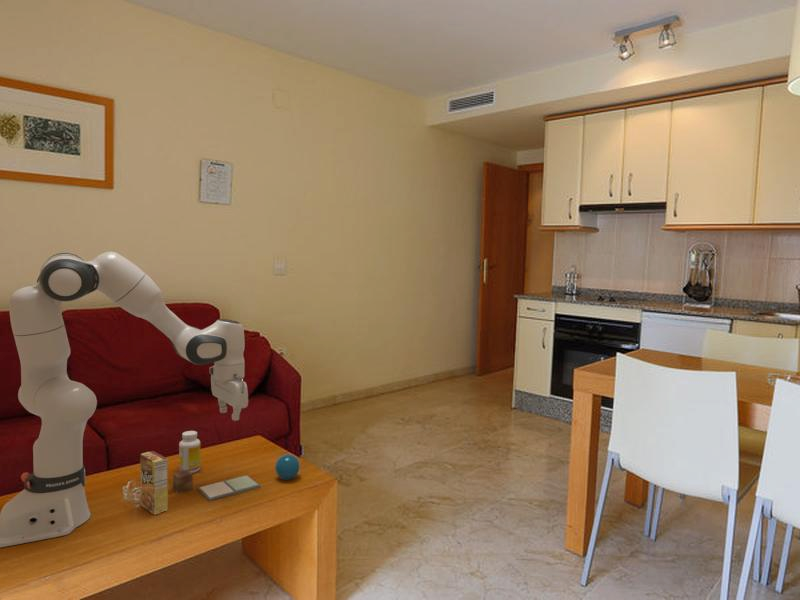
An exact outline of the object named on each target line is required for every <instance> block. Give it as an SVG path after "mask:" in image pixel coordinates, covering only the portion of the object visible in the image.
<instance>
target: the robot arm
mask: <svg viewBox="0 0 800 600" xmlns="http://www.w3.org/2000/svg"><path fill="white" fill-rule="evenodd" d="M95 291H99V292H100V293H102V294H103V295H105V296H106V297H107V298H109V299H110V300H111V301H112V302H113V303H114V304H116V305H117V306H118V307H119V308H121V309H123V310H124V311H125V312H128V313H129V314H131V315H133V316H134V317H136V318H141V319H143V320H145V321H147V322H149V323H151V325H153V326H154V327H155V328H156V329H157V330H159V331H160V332H161V333H162V334H164V335H165V337H166V338H167V339H169V340H170V342H171V345H172V347H173V349H174V351H175V353H176V354H177V355H178V356H179V357H180V358H182V359H184V360H187V361H188V362H190V363H192V364H194V365H197V366H204V365H205V366H206V365H209V364H214V365H212V366H210V367H209V374H210V375H211V376H210V385H211V386H210V387H211V388H210V389H211V393H212V394H211V395H212V396H214V397H215V398H217V402H218V406H219V412H220V413H222V414H225V413H228V406H227V405H229V406H230V407H232V413H231V419H232V421H234V422H235V421H239V420H240V413H241V411H242V409H246V408H247V407H248V405H249V393H248V392H249V391H248V385H247V382H246V381H244V378H245V366H246V365H245V363H246V362H245V358H244V357H245V356H244V353H245V352H244V351H245V347H246V346H245V344H246V343H245V342H246V341H245V331H244V325H243V324H242V323H241V322H240V321H236V320H233V319H227V318H218V319H217V320H216V321H215V322H214V323H213V324H211V325H209V326H207V327H205V328H203V329H200V328H198V327H196V326H192V325H188V324H187V323H185V322H184V321H183V320H181V318H179V317H178V316H177V315H176V314H175V313H174V312H173V311H172V310H170V309H169V308H168V307H167V305H166V304H165V302H164V299H163V292H162V290H161V289H160V287H159V286H158V285H157V283H156V282H155V281H154V280H153V279H152V278H151V277H150V276H149V274H147V273H146V272H144V270H142V269H141V268H140V267H139V266H138V265H136V264H135V263H133V262H132V261H130V260H129V259H128V258H126V257H124V256H122V255H121V254H119V253H118V252H114V251H105V252H103V253H101V254H99V255H97V256H95V257H94V258H93V259H91V260H89V261H85V260H84V259H82V258H81V257H80V256H78V255H77V254H74V253H69V252H58V253H55V254H54V255H52V256H50V257H49V258H47V260H46V261H45V262H44V263H43V264H42V265H41V267H40V271H39V276H38V278H37V279H36V283H34V284H32V285H27V286H24V287H20V288H19V289H17V290H15V291H14V292H13V293H11V295H10V296H9V301H8V303H9V304H8V305H9V306H8V307H9V319H10V326H11V330H12V334H13V338H14V342H15V345H16V350H17V353H18V359H19V362H20V378H21V380H20V382H21V383H20V384H21V385H20V387H19V389H18V393H17V398H18V401H19V403H20V404H21V406H22V407H23V408H24V409H25V410H26V411H28V413H30V414H33V415H35V416H37V417H40V419H41V427H40V432H39V434H38V435H39V436H38V438H37V439H35V441H34V443H33V446H32V452H33V453H32V454H33V455H32V457H33V458H32V459H33V463H32V464H33V472H32V473H29V472H23V473H22V474H21V475H20V478H21V481H22V482H23V483H24V485H23V486H24V489H22V490H21V491H20V492H19V493H18V494H16V495H15V496H14V497H12V498H11V499H10V500H9V501H8V502H6V503H5V504H4V506H3V507H2V509H1V510H0V548H5V547H10V546H15V545H20V544H21V545H22V544H26V543H30V542H31V543H32V542H36V541H42V540H48V539H52V538H56V537H58V538H59V537H62V536H67V535H69V534H71V533H72V532H73V531H74V530H75V529H76V528H77V527H80V526H82V524H85V523H86V522H88V521H89V519H90V518H91V515H92V514H91V511H90V509H89V505H88V502H87V497H86V492H85V486H86V469H85V468H86V467H85V466H84V464H83V463H84V462H83V460H84V459H83V454H84V453H83V440H84V432H85V431H86V430H85V429H86V426H87V422H88V420H89V419H90V418H91V417H92V416H93V415H94V413H95V411H96V409H97V405H98V400H97V396H96V394H95V392H94V391H93V390H92V389H90V388H89V387H88V386H86V385H85V384H84V383H82V382H78V381H75V380H71V379H70V378H69V375H68V371H67V369H68V368H67V367H68V359H69V357H70V356H71V353H72V352H71V350H72V349H71V347H70V342H69V339H68V335H67V330H66V325H65V322H64V318H63V315H62V313H63V312H62V304H63V302H72V301H75V300H78V299H81V298H83V297H84V296H87V295H89V294H91V293H93V292H95Z"/></svg>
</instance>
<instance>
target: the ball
mask: <svg viewBox="0 0 800 600" xmlns="http://www.w3.org/2000/svg"><path fill="white" fill-rule="evenodd" d="M300 469H301V463H300V460H299V459H298V457H297V456H295V455H294V454H290V453H287V454H285V453H284V454H283V455H281V456H280V457H279V458H278V459H277V460H276V462H275V467H274V471H275V473H276V475H277V476H278V478H280V479H282V480H284V481H285V480H286V481H287V480H292V479H294V478H295V477H297V475H298V474H299V473H300Z"/></svg>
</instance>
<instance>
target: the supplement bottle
mask: <svg viewBox="0 0 800 600" xmlns="http://www.w3.org/2000/svg"><path fill="white" fill-rule="evenodd" d="M181 437H182V440H181V441H179V443H178V452H179V453H178V458H179V459H178V461H179V462H178V464H179V471H183V470H187V469H188V470H189V471H190V472H191V473H192V474H194V473H197V472H198V471H200V470H201V467H202V466H201V464H202V463H201V462H202V461H201V458H202V456H201V440H200V439H198V438H197V437H198V431H196V430H187V431H184V432H182V434H181Z"/></svg>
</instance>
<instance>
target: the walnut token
mask: <svg viewBox="0 0 800 600" xmlns="http://www.w3.org/2000/svg"><path fill="white" fill-rule="evenodd" d="M193 478H194V473H191V472H190V471H189V470H188V469H187V470H183V471H180V470H179V471H176V472H172V488H174V489H173V490H174V491H175V492H176V493H177V494H181V492H182V493H184V492H188V491H192V489H193V488H194V481H193V480H194V479H193ZM193 490H194V489H193Z"/></svg>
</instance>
